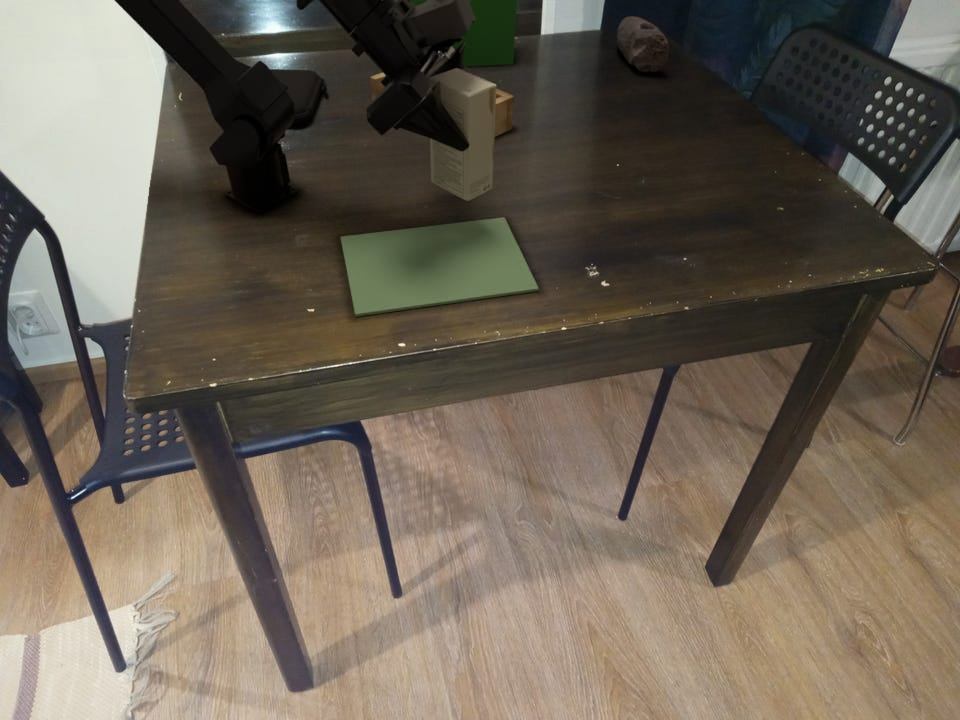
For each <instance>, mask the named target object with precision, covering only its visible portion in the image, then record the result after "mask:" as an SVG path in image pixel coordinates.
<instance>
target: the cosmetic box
mask: <svg viewBox="0 0 960 720" xmlns="http://www.w3.org/2000/svg"><path fill="white" fill-rule="evenodd" d="M428 81H429V85H430V87H431V88H432V87H433V86H435V85H436V84H437V83H438V82H440V87H441V103H442V105H443V106H444V107H445V109H446V110H447V112H448V113H449V114H450V116H451V117H452V119H453V120H454V121H455V123H456V124H457V126H458V127H459V128H460V130H461V131H462V133H463V134H464V136H465V137H466V139H467V141H468V142H469V144H470V146H469V148H467V149H466V150H465V151H459V150H457V149H454V148H452V147H450V146H447V145H445V144H442V143H440V142H438V141H435V140H433V139H430V138H429V145H430V146H429V153H430V182H431V183H433V184H435V185H436V186H438V187H440V188H442V189H444V190H445V191H446V192H447V191H448V193H451V194H453V195H455V196H456V197H458V198H460V199H462V200H464V201H466V202H469V201H471V200H473V199H475V198H477V197H479V196H482V195H483V194H485V193H486V192H488V191H490V190H492V189H493V184H494V183H493V180H494V160H495V159H494V158H495V157H494V154H495V137H494V136H495V110H496V88H497V84H496V83H494V82H492V81H489V80H487V79H484V78H483V77H480V76H478V75H476V74H473V73H470V72H468V71H465V70H464V71H463V70H460V69H458V68H455V69H452V70H449V71H447V72H444V73H441V74H438V75H435V76H432V77H429V78H428Z"/></svg>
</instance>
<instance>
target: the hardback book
mask: <svg viewBox="0 0 960 720" xmlns="http://www.w3.org/2000/svg"><path fill="white" fill-rule="evenodd" d="M426 1H427V0H411V2H412V3H413V4H414V5H415V6H418V5H420V4H423V3H425V2H426ZM469 4H470V6H471V9H472V12H473V14H474V17H475V20H476V21H475V22H474V23H472V24H471V25H470V27H469V32H468V33H467V34H466V35H465V36H464V38H463V39H462V40H461V41H460V42H459V43H458V42H455V43H454V44H453V45H452V47H453V48H454V49H455V50H456V49H457V48H458V47H459V46H460V45H462V44H463V43H465V50H464V58H463V68H465V67H466V68H467V67H484V66H487V67H488V66H505V65H514V57H515V45H516V44H515V43H516V27H517V13H518V0H471V1H470V3H469Z"/></svg>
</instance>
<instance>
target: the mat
mask: <svg viewBox="0 0 960 720" xmlns="http://www.w3.org/2000/svg"><path fill="white" fill-rule="evenodd" d="M340 241H341V242H340V243H341V246H342V247H341V248H342V253H343V254H342V255H343V258H344V259H343V260H344V264H345V269H346V273H347V274H346V275H347V279H348V286H349V290H350V291H349V292H350V295H351V302H352V305H353V306H352V307H353V311H354V317H356V318H357V317H364V316H365V317H366V316H371V315H378V314H379V315H380V314H385V313H392V312H398V311H399V312H400V311H406V310H414V309H421V308H427V307H436V306H443V305H449V304H450V305H451V304H455V303H463V302H470V301H477V300H484V299H491V298H499V297H506V296H512V295H522V294H526V293H534V292H539V289H540V287H539V286H538V283H537V282H536V279H535V277H534V276H533V273H532V272H531V269H530V267H529V265H528V264H527V261H526V259H525V257H524V255H523V253H522V250H521V248H520V246H519V244H518V242H517V240H516V237H515V236H514V234H513V232H512V230H511V228H510V226H509V224H508V222H507V220H506V218H505V216H503V217H495V218H487V219H486V218H485V219H478V220H470V221H462V222H453V223H452V222H451V223H445V224H436V225H427V226H419V227H411V228H403V229H402V228H401V229H394V230H385V231H378V232H376V231H375V232H369V233H361V234H352V235H344V236H340Z"/></svg>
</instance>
